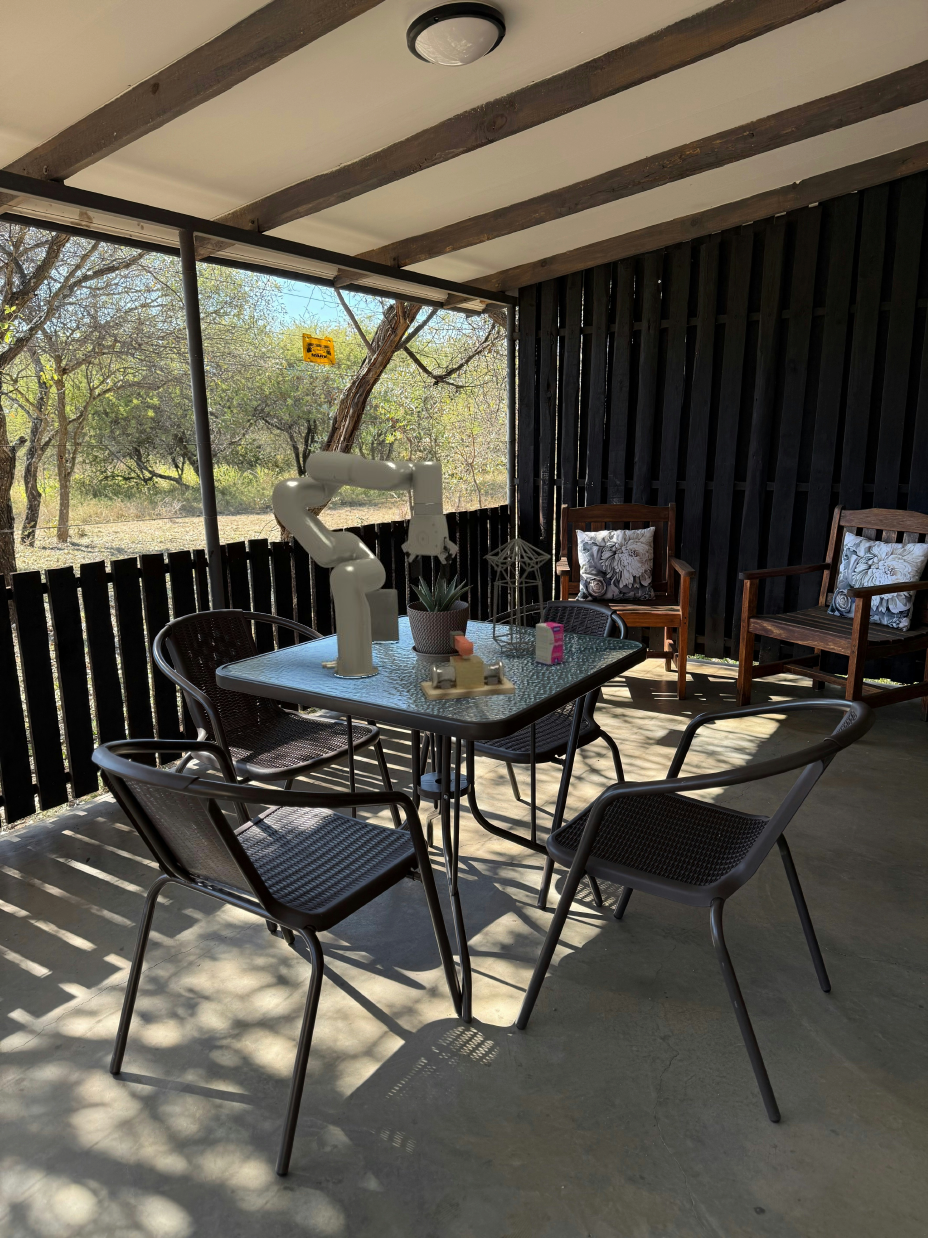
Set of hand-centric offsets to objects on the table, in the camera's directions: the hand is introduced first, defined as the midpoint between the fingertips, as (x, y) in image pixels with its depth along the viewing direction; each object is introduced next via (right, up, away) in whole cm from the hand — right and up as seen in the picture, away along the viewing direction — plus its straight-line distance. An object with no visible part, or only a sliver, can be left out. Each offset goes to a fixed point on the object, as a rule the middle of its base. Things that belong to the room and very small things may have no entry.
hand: (430, 577), depth 208 cm
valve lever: (+8, -19, +1) cm, 21 cm away
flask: (-20, -19, +59) cm, 65 cm away
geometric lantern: (+25, -21, +37) cm, 49 cm away
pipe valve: (+10, -29, -4) cm, 31 cm away
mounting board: (+10, -29, -4) cm, 31 cm away
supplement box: (+33, -24, +23) cm, 47 cm away
